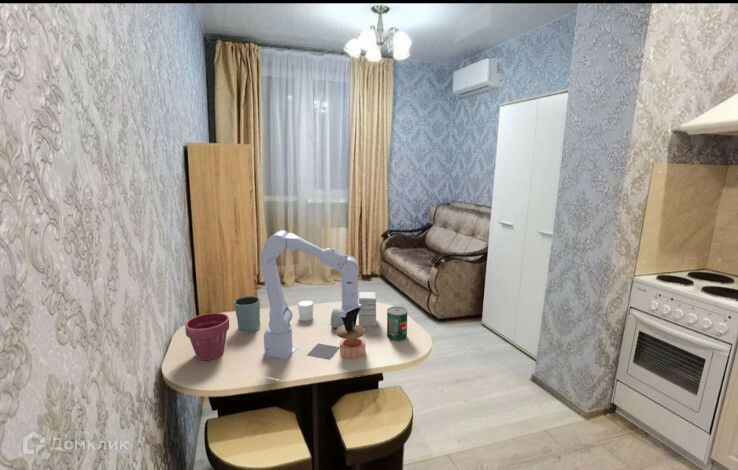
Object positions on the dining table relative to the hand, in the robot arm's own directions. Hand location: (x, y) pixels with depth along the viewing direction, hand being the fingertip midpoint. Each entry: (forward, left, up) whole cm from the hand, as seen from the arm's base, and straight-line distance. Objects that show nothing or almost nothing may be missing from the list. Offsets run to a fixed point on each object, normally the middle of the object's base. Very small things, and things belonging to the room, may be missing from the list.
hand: (350, 328), depth 131 cm
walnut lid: (0, 0, -2) cm, 2 cm away
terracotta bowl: (+1, 0, -10) cm, 10 cm away
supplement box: (-2, +25, -10) cm, 27 cm away
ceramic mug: (-12, +19, -10) cm, 25 cm away
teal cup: (-47, +5, -10) cm, 49 cm away
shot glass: (-29, +21, -10) cm, 38 cm away
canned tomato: (+13, +17, -10) cm, 23 cm away
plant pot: (-47, -17, -10) cm, 51 cm away
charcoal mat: (-9, -3, -10) cm, 14 cm away
